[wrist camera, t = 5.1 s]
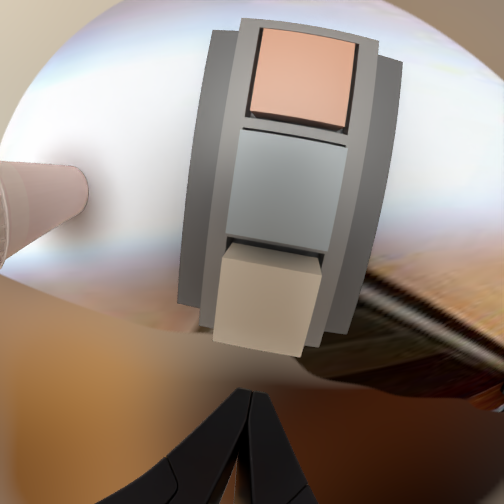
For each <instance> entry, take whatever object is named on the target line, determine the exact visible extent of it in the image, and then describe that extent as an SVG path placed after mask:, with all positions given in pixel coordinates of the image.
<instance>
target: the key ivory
mask: <svg viewBox="0 0 504 504" xmlns="http://www.w3.org/2000/svg"><path fill="white" fill-rule="evenodd" d="M321 278H322V273H321V269H320V265H319V261H318V258H315V257H310V256H304V255H299V254H293V253H288V252H282V251H277V250H271V249H266V248H260V247H255V246H249V245H243V244H238V243H232V244H231V245H230V247H229V248H228V250H227V251H226V253H225V254H224V256H223V257H222V263H221V271H220V280H219V288H218V296H217V305H216V313H215V322H214V331H213V341H215V342H220V343H224V344H229V345H234V346H239V347H244V348H249V349H254V350H260V351H265V352H271V353H277V354H283V355H289V356H295V357H301V354H302V350H303V347H304V343H305V340H306V336H307V332H308V329H309V325H310V321H311V318H312V314H313V310H314V306H315V302H316V298H317V294H318V290H319V286H320V282H321Z"/></svg>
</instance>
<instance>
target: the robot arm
mask: <svg viewBox="0 0 504 504" xmlns="http://www.w3.org/2000/svg"><path fill="white" fill-rule="evenodd" d="M501 392H502V394H504V385H503V387H502V388H501ZM238 452H239V453H238ZM237 456H238V459H237ZM236 460H237V467H236V480H235V493H234V504H318V502H317V500H316V498H315V496H314V494H313V492H312V490H311V488H310V486H309V485H307V484H308V482H307V480H306V478H305V476H304V473H303V471H302V469H301V467H300V465H299V462H298V460H297V458H296V456H295V454H294V452H293V449H292V447H291V446H290V443H289V440H288V438H287V436H286V434H285V431H284V429H283V427H282V425H281V422H280V420H279V418H278V416H277V413H276V411H275V409H274V406H273V404H272V402H271V399H270V397H269V395H268V394H267V393H266V392H260V391H253V392H252V391H251V390H250V389H245V388H240V387H239V388H237V389H235V391H234V392H233V393H232V394H230V396H229V397H227V399H225V400H224V402H223V403H221V404H220V406H218V408H216V409H215V410H214V411H213V412H212V413H211V414H210V415H209V416H208V417H207V418H206V419H205V420H204V421H203V422H202V423H201V424H200V425H199V426H198V427H197V428H196V429H195V430H194V431H192V432H191V433H190V434H189V435H188V436H187V437H186V438H185V439H184V440H183V441H182V442H180V443H179V444H178V445H177V446H176V447H175V448H174V449H173V450H172V451H171V452H170V453H169V454H167V455H166V457H164V458H163V459H161V460H160V461H159V462H158V463H157V464H156V465H155V466H153V467H152V468H151V469H149V470H148V471H147V472H146V473H144V474H143V475H142V476H140V477H139V478H137V479H136V480H134V481H133V482H131V483H130V484H128V485H127V486H125V487H124V488H122V489H120V490H118V491H117V492H115V493H113V494H111V495H110V496H108V497H106V498H104V499H103V500H101V501H99V502H97V503H95V504H219V503H220V501H221V498H222V496H223V493H224V491H225V488H226V486H227V484H228V481H229V478H230V476H231V474H232V470H233V468H234V466H235V463H236Z"/></svg>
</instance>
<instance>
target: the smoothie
mask: <svg viewBox="0 0 504 504" xmlns="http://www.w3.org/2000/svg"><path fill="white" fill-rule="evenodd" d="M87 200H88V184H87V181H86V178H85V176H84V174H83V173H82V172H81V171H80V170H79V169H78V168H76V167H73V166H65V165H53V164H40V163H26V162H8V161H0V269H1V268H2V266H3V264H4V262H5V260H6V259H7V258H9V257H10V256H12V255H13V254H15V253H16V252H18V251H19V250H21V249H22V248H24V247H25V246H27V245H28V244H30V243H31V242H33V241H35V240H36V239H38V238H39V237H41V236H42V235H44V234H46V233H47V232H49V231H51V230H52V229H54V228H56V227H57V226H59V225H61V224H62V223H64V222H66V221H67V220H69V219H71V218H73V217H74V216H76V215H78V214H79V213H81V212H82V210H83V209H84V208H85V206H86V203H87Z"/></svg>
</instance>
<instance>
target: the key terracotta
mask: <svg viewBox="0 0 504 504" xmlns="http://www.w3.org/2000/svg"><path fill="white" fill-rule="evenodd" d="M354 51H355V43H351V42H346V41H342V40H337V39H332V38H327V37H322V36H317V35H311V34H305V33H299V32H292V31H284V30H276V29H267V28H264V30H263V36H262V41H261V47H260V53H259V59H258V65H257V70H256V76H255V82H254V89H253V95H252V101H251V107H250V111H251V112H252V113H253V115H254V116H255V117H258V118H265V119H272V120H278V121H285V122H291V123H297V124H302V125H308V126H313V127H318V128H323V129H328V130H333V131H338V130H340V129H342V128H343V127H345V121H346V114H347V107H348V100H349V93H350V85H351V77H352V69H353V60H354Z"/></svg>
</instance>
